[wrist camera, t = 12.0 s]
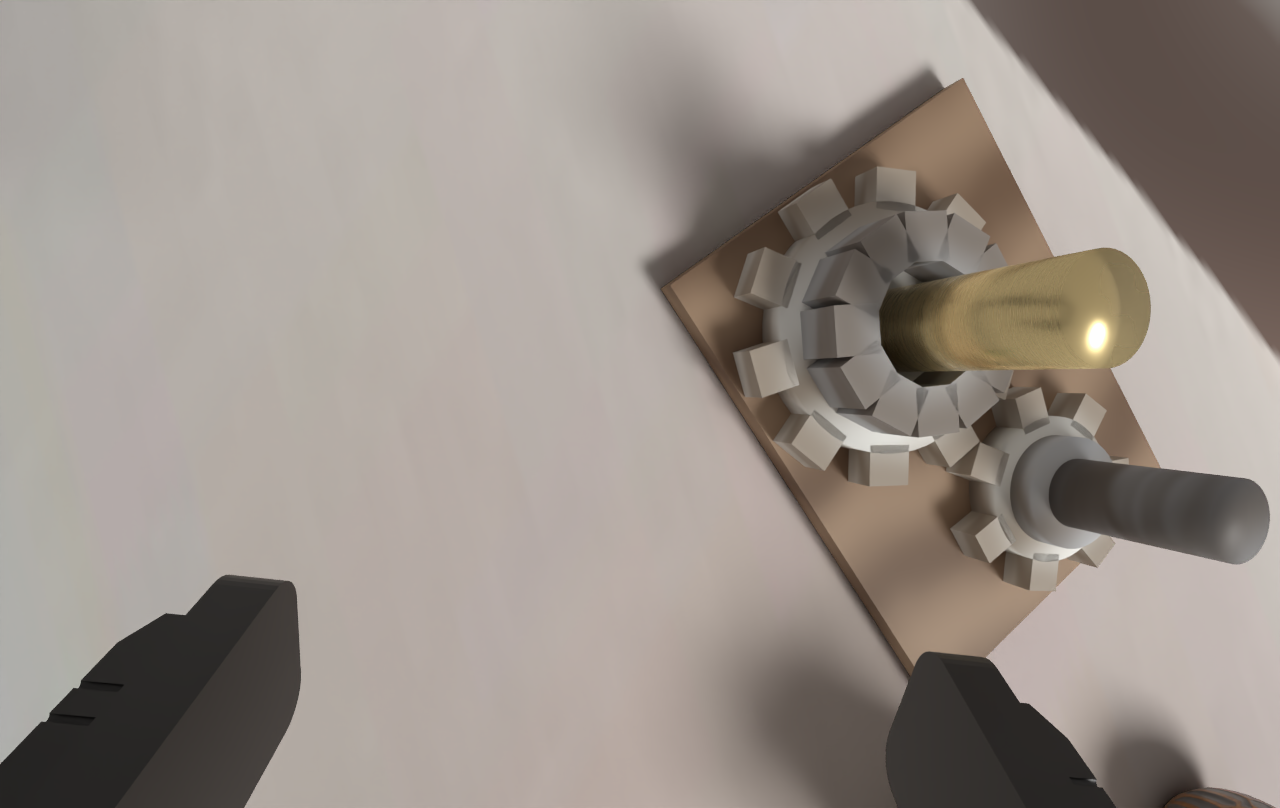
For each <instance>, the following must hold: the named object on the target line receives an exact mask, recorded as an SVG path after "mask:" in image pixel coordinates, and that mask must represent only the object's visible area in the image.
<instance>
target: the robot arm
mask: <svg viewBox="0 0 1280 808" xmlns="http://www.w3.org/2000/svg"><path fill="white" fill-rule="evenodd" d="M300 682H301V668H300V649H299V630H298V611H297V595H296V589H295V587H294V585H293V583H292V582H290V581H283V580H273V579H264V578H255V577H245V576H236V575H225V576H222V577H221V578H219V579H218V580H217V581H216V582H215V583H214V584H213V585H212V586H211V587H210V588H209V589H208V590H207V592H206V593H205V594H204V595H203V596H202V597H201V598H200V600H199V601H198V602H197V603H196V604H195V605H194V606H193V607H192V609H191V610H190V611H189V612H188V613H187V614H186V615H177V614H167V613H166V614H164V615H162V616H161V617H159V618H157V619H156V620H154V621H152V622H151V623H149V624H148V625H146V626H144V627H143V628H141V629H139V630H138V631H136V632H134V633H133V634H131V635H129V636H128V637H126V638H124V639H123V640H121V641H119V642H118V643H117V644H116V645H115V646H114V647H113V648H112V649H111V650H110V651H109V652H108V653H107V654H106V655H105V656H104V657H103V658H102V659H101V660H100V661H99V662H98V663H97V664H96V665H95V666H94V668H93V669H92V670H91V671H90V672H89V673H88V674H87V675H86V676H85V677H84V678H83V679H82V680H81V684H80V686H79V688H78V689H77V688H73V689H72V690H71V691H70V692H69V693H68V694H67V696H66V697H65V698H64V699H63V700H62V701H61V702H60V703H59V704H58V705H57V706H56V707H55V708H54V709H53V710H52V711H51V712H50V716H49V718H48V720H47V721H46V722H41V723H40V724H39V725H38V726H37V727H36V728H35V729H34V730H33V731H32V732H31V733H30V734H29V735H28V736H27V737H26V738H25V739H24V740H23V741H22V742H21V743H20V744H19V745H18V746H17V747H16V748H15V750H14V751H13V752H12V753H11V754H10V755H9V756H8V757H7V758H6V759H5V760H4V761H3V762H2V763H1V764H0V808H244V807H245V805H246V803H247V801H248V800H249V798H250V796H251V794H252V792H253V790H254V789H255V787H256V785H257V783H258V781H259V780H260V778H261V776H262V774H263V772H264V771H265V769H266V767H267V765H268V763H269V762H270V760H271V758H272V756H273V754H274V753H275V751H276V749H277V747H278V745H279V743H280V742H281V740H282V738H283V736H284V734H285V733H286V731H287V729H288V727H289V724H290V722H291V719H292V717H293V714H294V711H295V708H296V704H297V700H298V696H299V690H300ZM886 769H887V775H888V780H889V784H890V787H891V790H892V793H893V796H894V798H895V801H896V803H897V806H898V808H1116V806H1115V805H1114V804H1113V802H1112V801H1111V799H1110V798H1109V797H1108V795H1107V794H1106V792H1105V791H1104V789H1103V788H1099V787H1097V784H1096V780H1097V779H1096V778H1095V777H1094V775H1093V774H1092V772H1091V771H1090V769H1089V768H1088V767H1087V765H1086V764H1085V762H1084V761H1083V759H1082V758H1081V757H1080V755H1079V754H1078V752H1077V751H1076V749H1075V748H1074V747H1073V745H1072V744H1071V742H1070V741H1069V740H1068V738H1066V737H1065V736H1064V735H1063V734H1062V733H1061V732H1060V731H1059V730H1058V729H1056V728H1055V727H1054V726H1053V725H1052V724H1051V723H1050V722H1049V721H1048V720H1046V719H1045V718H1044V717H1043V716H1042V715H1041V714H1040V713H1039V712H1038V711H1036V710H1035V709H1034V708H1033V707H1032V706H1031V705H1030V704H1027V703H1020V702H1019V701H1018V699H1017V698H1016V696H1015V695H1014V693H1013V692H1012V690H1011V689H1010V687H1009V686H1008V684H1007V683H1006V681H1005V680H1004V678H1003V677H1002V675H1001V674H1000V672H999V671H998V669H997V668H996V666H995V665H994V664H993V663H992V662H991V661H990V660H988V659H987V658H984V657H978V656H969V655H960V654H950V653H941V652H931V651H928V652H924V653H923V654H922V655H921V656H920V657H919V658H918V660H917V662H916V664H915V666H914V669H913V672H912V674H911V677H910V680H909V682H908V685H907V687H906V690H905V693H904V695H903V698H902V701H901V703H900V706H899V709H898V711H897V714H896V716H895V719H894V722H893V724H892V727H891V730H890V732H889V735H888V739H887V745H886Z"/></svg>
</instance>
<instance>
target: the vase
mask: <svg viewBox="0 0 1280 808" xmlns="http://www.w3.org/2000/svg"><path fill="white" fill-rule="evenodd" d="M1164 808H1275V807H1273V806H1271V805H1269V804H1267V803H1265V802H1263V801H1261V800H1258V799H1256V798H1254V797H1251V796H1249V795H1246V794H1242V793H1239V792H1235V791H1231V790H1226V789H1220V788H1198V789H1193V790H1190V791H1186V792H1183V793H1181V794H1178V795H1177V796H1175V797H1173V798H1172V799H1171V800H1170V801H1169V802H1168V803H1167V804H1166V806H1165V807H1164Z"/></svg>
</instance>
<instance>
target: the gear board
mask: <svg viewBox="0 0 1280 808" xmlns="http://www.w3.org/2000/svg"><path fill="white" fill-rule="evenodd" d="M1052 257H1054V256H1053V254H1052V252H1051V250H1050V248H1049V246H1048V244H1047V243H1046V241H1045V239H1044V237H1043V235H1042V233H1041V231H1040V229H1039V227H1038V225H1037V223H1036V221H1035V219H1034V217H1033V215H1032V213H1031V211H1030V209H1029V207H1028V205H1027V203H1026V201H1025V199H1024V197H1023V195H1022V193H1021V191H1020V189H1019V187H1018V185H1017V183H1016V181H1015V179H1014V177H1013V175H1012V173H1011V171H1010V169H1009V168H1008V166H1007V164H1006V162H1005V160H1004V158H1003V156H1002V154H1001V152H1000V150H999V148H998V146H997V144H996V142H995V140H994V138H993V136H992V134H991V132H990V130H989V128H988V126H987V124H986V122H985V120H984V118H983V116H982V114H981V112H980V110H979V108H978V106H977V104H976V102H975V100H974V98H973V96H972V94H971V92H970V91H969V89H968V87H967V85H966V83H965V81H964V79H963V78H962V79H960V80H958V81H957V82H955V83H953V84H951V85H949V86H948V87H946V88H944V89H943V90H941V91H940V92H939V93H937V94H936V95H934V96H933V97H932V98H930V99H929V100H927V101H926V102H924V103H923V104H922V105H920V106H919V107H917V108H916V109H915V110H913V111H912V112H910V113H909V114H907V115H906V116H905V117H903V118H902V119H900V120H899V121H898V122H896V123H895V124H893V125H892V126H890V127H889V128H888V129H886V130H885V131H883V132H882V133H881V134H879V135H878V136H876V137H875V138H873V139H872V140H871V141H869V142H868V143H866V144H865V145H864V146H862V147H861V148H859V149H858V150H856V151H855V152H854V153H852V154H851V155H849V156H848V157H847V158H845V159H844V160H842V161H841V162H839V163H838V164H837V165H835V166H834V167H832V168H831V169H830V170H828V171H827V172H825V173H824V174H822V175H821V176H820V177H818V178H817V179H815V180H814V181H813V182H811V183H810V184H808V185H807V186H805V187H804V188H803V189H801V190H800V191H798V192H797V193H796V194H794V195H793V196H791V197H790V198H788V199H787V200H786V201H784V202H783V203H781V204H780V205H779V206H777V207H776V208H774V209H773V210H771V211H770V212H769V213H767V214H766V215H764V216H763V217H762V218H760V219H759V220H757V221H756V222H754V223H753V224H752V225H750V226H749V227H747V228H746V229H745V230H743V231H742V232H740V233H739V234H737V235H736V236H735V237H733V238H732V239H730V240H729V241H728V242H726V243H725V244H723V245H722V246H720V247H719V248H718V249H716V250H715V251H713V252H712V253H711V254H709V255H708V256H706V257H705V258H703V259H702V260H701V261H699V262H698V263H696V264H695V265H694V266H692V267H691V268H689V269H688V270H686V271H685V272H684V273H682V274H681V275H679V276H678V277H677V278H675V279H674V280H672V281H671V282H669V283H668V284H667V285H665V286H664V287H662V288H661V290H662V292H663V293H664V295H665V296H666V298H667V299H668V301H669V302H670V304H671V306H672V307H673V309H674V310H675V312H676V313H677V315H678V316H679V318H680V319H681V321H682V323H683V324H684V326H685V327H686V329H687V330H688V332H689V333H690V335H691V337H692V338H693V340H694V341H695V343H696V344H697V346H698V347H699V349H700V351H701V352H702V354H703V355H704V357H705V358H706V360H707V361H708V363H709V365H710V366H711V368H712V369H713V371H714V372H715V374H716V375H717V377H718V378H719V380H720V382H721V383H722V385H723V386H724V388H725V389H726V391H727V392H728V394H729V396H730V397H731V399H732V400H733V402H734V403H735V405H736V406H737V408H738V410H739V411H740V413H741V414H742V416H743V417H744V419H745V420H746V422H747V424H748V425H749V427H750V428H751V430H752V431H753V433H754V434H755V436H756V437H757V439H758V441H759V442H760V444H761V445H762V447H763V448H764V450H765V451H766V453H767V455H768V456H769V458H770V459H771V461H772V462H773V464H774V465H775V467H776V469H777V470H778V472H779V473H780V475H781V476H782V478H783V479H784V481H785V483H786V484H787V486H788V487H789V489H790V490H791V492H792V493H793V495H794V496H795V498H796V500H797V501H798V503H799V504H800V506H801V507H802V509H803V510H804V512H805V514H806V515H807V517H808V518H809V520H810V521H811V523H812V524H813V526H814V528H815V529H816V531H817V532H818V534H819V535H820V537H821V538H822V540H823V542H824V543H825V545H826V546H827V548H828V549H829V551H830V552H831V554H832V555H833V557H834V559H835V560H836V562H837V563H838V565H839V566H840V568H841V569H842V571H843V573H844V574H845V576H846V577H847V579H848V580H849V582H850V583H851V585H852V587H853V588H854V590H855V591H856V593H857V594H858V596H859V597H860V599H861V600H862V602H863V604H864V605H865V607H866V608H867V610H868V611H869V613H870V614H871V616H872V618H873V619H874V621H875V622H876V624H877V625H878V627H879V628H880V630H881V632H882V633H883V635H884V636H885V638H886V639H887V641H888V642H889V644H890V646H891V647H892V649H893V650H894V652H895V653H896V655H897V656H898V658H899V659H900V661H901V663H902V664H903V666H904V667H905V669H906V670H907V672H908V673H909V675H910V677H911V674H912V672H913V669H914V666H915V664H916V662H917V660H918V658H919V657H920V656H921V655H922V654H923V653H924V652H928V651H931V652H941V653H950V654H960V655H969V656H978V657H984V658H985V657H986V656H987V655H988V654H989V653H990V652H991V651H992V650H993V649H994V648H995V647H996V646H997V645H998V644H999V643H1000V642H1001V641H1002V640H1003V639H1004V638H1005V637H1006V636H1007V635H1008V634H1009V633H1010V632H1011V631H1012V630H1013V629H1014V628H1015V627H1016V626H1018V625H1019V624H1020V623H1021V622H1022V621H1023V620H1024V619H1025V618H1026V617H1027V616H1028V615H1029V614H1030V613H1031V612H1032V611H1033V610H1034V609H1035V608H1036V607H1037V606H1038V605H1039V604H1040V603H1041V602H1042V601H1043V600H1044V599H1045V598H1046V597H1047V596H1048V595H1049V594H1050V593H1051V592H1052V591H1056V587H1057V586H1058V585H1059V584H1060V583H1061V582H1062V581H1063V580H1064V579H1065V578H1066V577H1067V576H1068V575H1069V574H1070V573H1071V572H1072V571H1073V570H1074V569H1075V568H1076V567H1077V566H1078V565H1079V564H1080V563H1083V564H1086V565H1090V566H1093V567H1097V568H1098V567H1099V565H1100V564H1101V562H1102V561H1103V560H1104V558H1105V557H1106V556H1107V554H1108V553H1109V551H1110V550H1111V549H1112V547H1113V546H1114V545H1115V542H1114V541H1113V540H1112V538H1111V537H1115V538H1120V539H1124V540H1129V541H1133V542H1138V543H1142V544H1146V545H1151V546H1155V547H1160V548H1164V549H1168V550H1173V551H1177V552H1182V553H1186V554H1191V555H1195V556H1199V557H1204V558H1208V559H1213V560H1217V561H1221V562H1226V563H1230V564H1242V563H1245V562H1247V561H1249V560H1251V559H1252V558H1253V557H1254V556H1255V555H1256V554H1257V553H1258V552H1259V550H1260V549H1261V547H1262V546H1263V544H1264V542H1265V539H1266V537H1267V533H1268V529H1269V521H1270V513H1269V505H1268V502H1267V498H1266V496H1265V494H1264V492H1263V490H1262V489H1261V488H1260V486H1259V485H1258V484H1256V483H1255V482H1254V481H1252V480H1249V479H1246V478H1237V477H1229V476H1220V475H1212V474H1204V473H1195V472H1187V471H1178V470H1170V469H1161V468H1160V466H1159V464H1158V462H1157V460H1156V458H1155V456H1154V454H1153V452H1152V450H1151V448H1150V446H1149V444H1148V442H1147V440H1146V438H1145V436H1144V434H1143V432H1142V430H1141V428H1140V426H1139V424H1138V422H1137V420H1136V418H1135V416H1134V414H1133V412H1132V410H1131V408H1130V406H1129V404H1128V402H1127V400H1126V398H1125V396H1124V395H1123V393H1122V391H1121V389H1120V387H1119V385H1118V383H1117V381H1116V379H1115V377H1114V375H1113V373H1112V371H1111V369H1110V368H1097V369H1040V370H983V371H926V372H896V370H895V368H894V367H893V365H892V363H891V361H890V360H889V358H888V356H887V355H886V353H885V351H884V349H883V348H882V346H881V336H880V321H879V309H880V307H881V305H882V302H883V300H884V297H885V295H886V292H887V290H888V289H893V288H898V287H903V286H908V285H913V284H919V283H924V282H929V281H934V280H939V279H944V278H949V277H954V276H960V275H965V274H970V273H975V272H980V271H985V270H990V269H995V268H1001V267H1006V266H1011V265H1016V264H1021V263H1026V262H1031V261H1037V260H1042V259H1047V258H1052ZM1110 536H1111V537H1110Z"/></svg>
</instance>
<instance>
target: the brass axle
mask: <svg viewBox="0 0 1280 808" xmlns="http://www.w3.org/2000/svg"><path fill="white" fill-rule="evenodd" d="M1150 313H1151V304H1150V295H1149V290H1148V286H1147V283H1146V280H1145V278H1144V276H1143V274H1142V272H1141V270H1140V269H1139V267H1138V266H1137V264H1136V263H1135V262H1134V261H1133V260H1132V259H1131V258H1130V257H1129V256H1127V255H1126V254H1124V253H1123V252H1121V251H1118V250H1116V249H1112V248H1098V249H1093V250H1088V251H1083V252H1078V253H1072V254H1067V255H1062V256H1057V257H1052V258H1047V259H1042V260H1037V261H1031V262H1026V263H1021V264H1016V265H1011V266H1006V267H1001V268H995V269H990V270H985V271H980V272H975V273H970V274H965V275H960V276H954V277H949V278H944V279H939V280H934V281H929V282H924V283H919V284H913V285H908V286H903V287H898V288H893V289H888V290H887V292H886V295H885V297H884V300H883V302H882V305H881V307H880V309H879V321H880V336H881V346H882V348H883V349H884V351H885V353H886V355H887V356H888V358H889V360H890V361H891V363H892V365H893V367H894V368H895V370H896V372H926V371H983V370H1040V369H1097V368H1113V367H1116V366H1119V365H1121V364H1123V363H1125V362H1126V361H1128V360H1129V359H1130V358H1131V357H1132V356H1133V355H1134V354H1135V353H1136V352H1137V350H1138V349H1139V348H1140V346H1141V344H1142V343H1143V341H1144V338H1145V336H1146V333H1147V330H1148V326H1149V321H1150Z"/></svg>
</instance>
